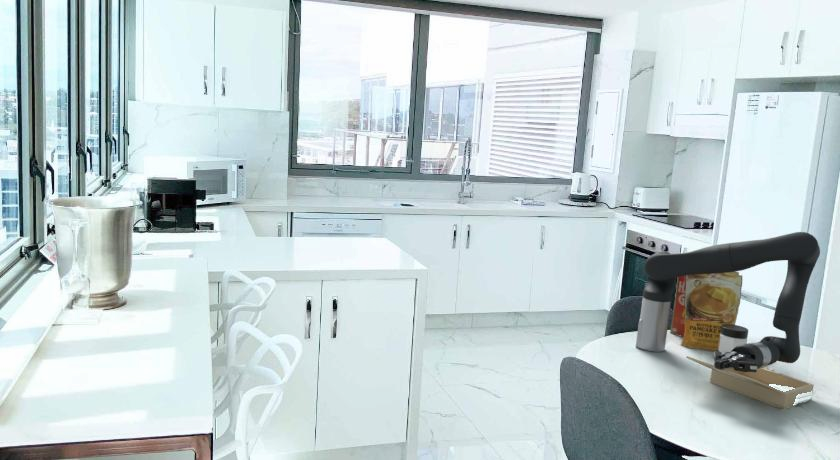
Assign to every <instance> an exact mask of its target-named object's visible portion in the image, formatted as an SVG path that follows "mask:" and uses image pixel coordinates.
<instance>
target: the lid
mask: <svg viewBox="0 0 840 460" xmlns="http://www.w3.org/2000/svg"><path fill="white" fill-rule="evenodd" d="M685 358H686V359H688V360H691V361H692V362H695V363H697V364H699V365H701V366H703V367H705V368H707V369H711V371H712V370H715V371H718V372H721V373H724V374H727V375H729V376H732V377H735V378H738V379H741V380H744V381H747V382H749V383H752V384H755V385H758V386H761V387H764V388H767V389H770V390H772V391H775V392H778V393H781V394H784V392H782V391H779V390H777V389H775V388H773V387H771V386H769V385H767V384H764V383H762V382H760V381H758V380H755V379H752V378H749V377H746V376H743V375H740V374H737V373H734V372H732V371H729V370H726V369H721V370H720V369H717V368H715V366H714V365H713V364H710V363H708V362H705V361H702V360H699V359H696V358H694V357H691V356H687V355H686V357H685Z"/></svg>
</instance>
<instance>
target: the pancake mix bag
mask: <svg viewBox="0 0 840 460" xmlns="http://www.w3.org/2000/svg"><path fill="white" fill-rule="evenodd" d="M742 286H743V275H742V274H740V271H736V272H727V273H716V274H693V275H686V292H685V307H686V313H685V322H684V323H685V331H684V337H683V336H682V340H681V343H680V346H684V347H687V348H688V349H689V348H691V349H695V350H702V351H709V352H715V350H718V345H719V339H720V332H721V326H722V325H723V324H732V325H736V322H737V318H738V315H739V309H740V308H739V307H740V304H741V295H742Z"/></svg>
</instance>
